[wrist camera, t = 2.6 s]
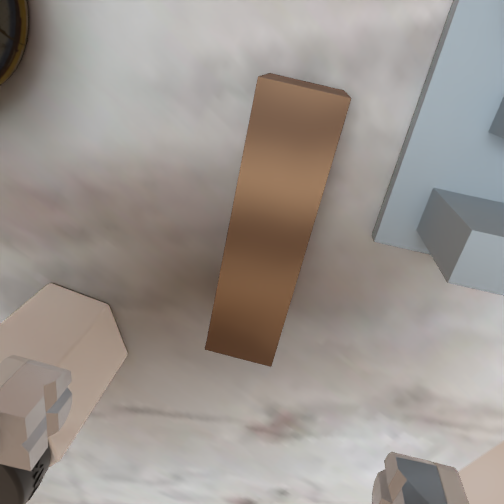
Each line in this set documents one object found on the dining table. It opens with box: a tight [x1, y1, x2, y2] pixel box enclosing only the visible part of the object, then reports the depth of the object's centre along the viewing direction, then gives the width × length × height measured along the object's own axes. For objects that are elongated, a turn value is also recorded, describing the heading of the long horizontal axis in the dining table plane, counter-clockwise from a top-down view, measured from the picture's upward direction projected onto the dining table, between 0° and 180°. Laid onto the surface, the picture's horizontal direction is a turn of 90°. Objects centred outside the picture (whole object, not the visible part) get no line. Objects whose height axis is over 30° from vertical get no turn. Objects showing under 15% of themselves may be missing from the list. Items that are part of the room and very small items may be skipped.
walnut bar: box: [205, 73, 351, 367], centre depth 22 cm, size 15×4×5 cm, turn 168°
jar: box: [0, 283, 128, 504], centre depth 26 cm, size 9×8×12 cm
